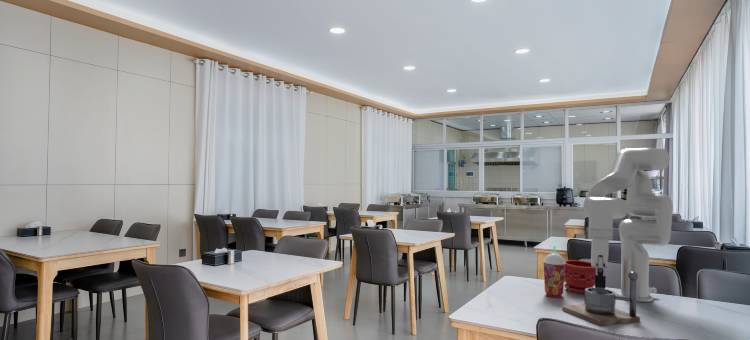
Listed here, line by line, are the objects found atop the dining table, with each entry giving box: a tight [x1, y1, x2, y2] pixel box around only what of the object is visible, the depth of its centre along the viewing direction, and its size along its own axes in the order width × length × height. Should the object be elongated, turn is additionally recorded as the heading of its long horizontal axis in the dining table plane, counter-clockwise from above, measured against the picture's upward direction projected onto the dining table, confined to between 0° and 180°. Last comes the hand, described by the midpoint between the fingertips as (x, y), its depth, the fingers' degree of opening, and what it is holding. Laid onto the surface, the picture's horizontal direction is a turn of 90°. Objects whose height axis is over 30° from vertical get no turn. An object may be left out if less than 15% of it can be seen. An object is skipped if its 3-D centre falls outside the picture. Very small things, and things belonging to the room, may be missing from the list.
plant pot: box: [564, 259, 596, 295], centre depth 183 cm, size 13×13×12 cm
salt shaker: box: [591, 273, 610, 294], centre depth 151 cm, size 6×6×12 cm
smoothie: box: [542, 245, 566, 299], centre depth 175 cm, size 8×8×20 cm
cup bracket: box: [561, 271, 641, 327], centre depth 150 cm, size 17×17×16 cm
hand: (600, 284), depth 150 cm, fingers open, 7 cm apart
